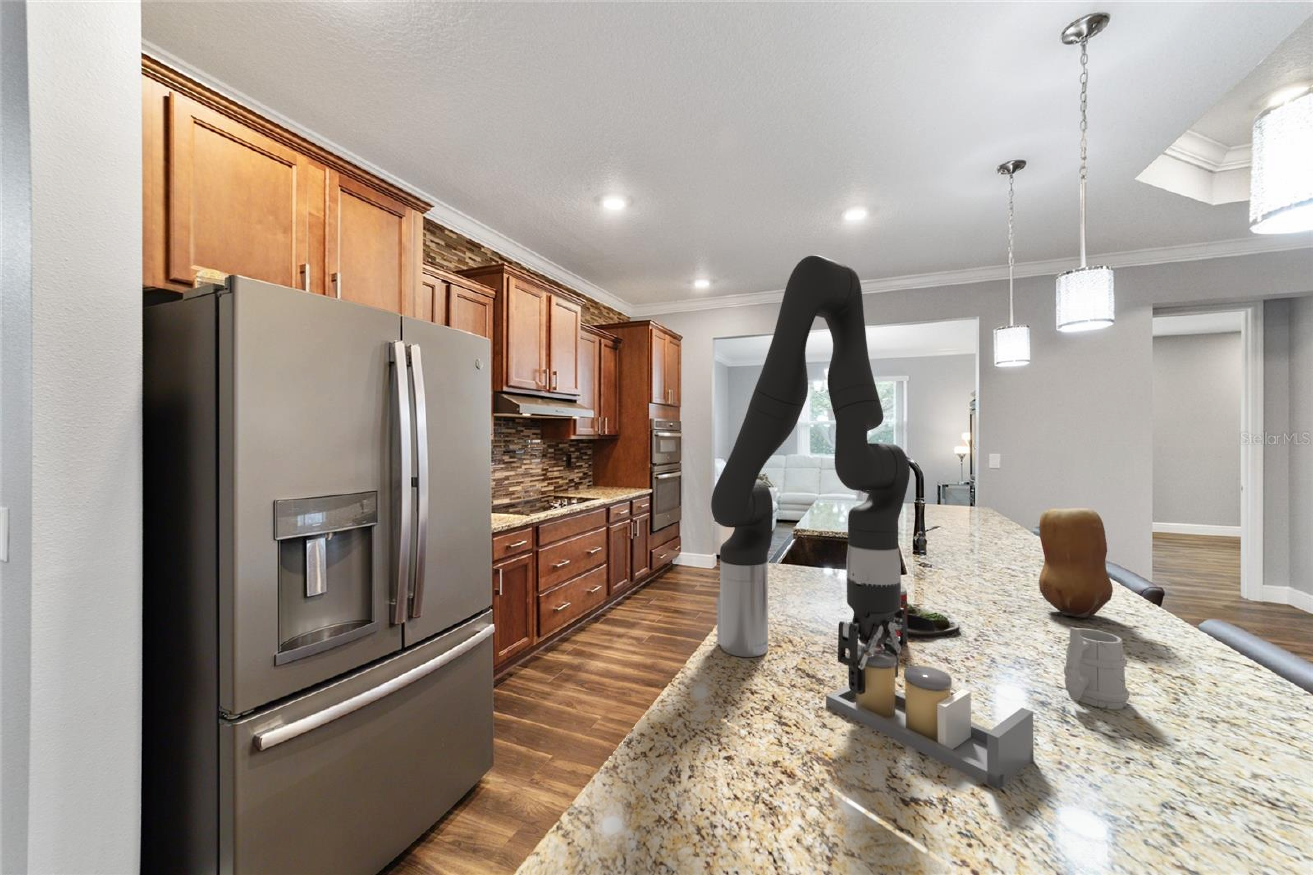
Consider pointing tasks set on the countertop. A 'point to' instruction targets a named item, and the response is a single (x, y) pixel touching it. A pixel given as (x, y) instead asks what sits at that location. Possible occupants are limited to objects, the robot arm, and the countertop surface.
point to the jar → (879, 684)
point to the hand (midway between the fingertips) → (874, 684)
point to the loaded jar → (924, 698)
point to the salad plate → (928, 623)
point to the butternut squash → (1074, 561)
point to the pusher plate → (954, 719)
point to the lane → (978, 757)
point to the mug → (1096, 669)
